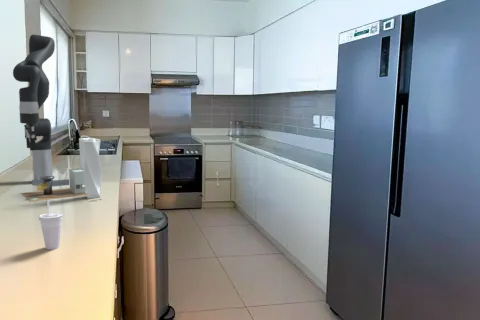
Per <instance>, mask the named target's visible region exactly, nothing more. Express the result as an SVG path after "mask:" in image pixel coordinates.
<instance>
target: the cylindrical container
mask: <svg viewBox="0 0 480 320" xmlns="http://www.w3.org/2000/svg"><path fill="white" fill-rule="evenodd" d="M90 138H91V139H92V138H93V137H90ZM90 138H88V137H82V139H83V141H88V139H90ZM82 139H81V138H78V142H79V143H78V144H79V145H78V147H79V165H80V168H79V169H81V170H83V171H84V162H85V153H84V148H83V142H82ZM85 191H86V186H85Z"/></svg>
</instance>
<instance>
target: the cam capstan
mask: <svg viewBox="0 0 480 320" xmlns="http://www.w3.org/2000/svg"><path fill="white" fill-rule="evenodd" d="M40 179H41V180H37V179H34V178H33V179H32V180H31V185H32V186H35V187H36V191H43V192H44V194H52V190H53V187H60V186H61V187H62V186H70V178H65V179H55V176H54V175H53V176H43V177H40ZM52 179H53V181H52ZM54 179H55V180H54Z"/></svg>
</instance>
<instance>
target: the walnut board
mask: <svg viewBox="0 0 480 320" xmlns="http://www.w3.org/2000/svg"><path fill="white" fill-rule="evenodd" d="M21 194H22V196H23V197H24V198H25V199H26V201H28V202H29V203H31V202H33V203H34V202H39V201H40V202H41V201H49V200H57V199H64V198H65V199H66V198H73V197H74V198H75V197H82V196H87V192H85V193H80V194H75V193H73V192H72V191H70V187H65V188H64V187H63V188H55V189H54V188H52V194H44V192H43V190H42V191H37V190H36V191H35V190H33V191H28V192H21ZM31 198H38V199H36V200H28V199H31Z"/></svg>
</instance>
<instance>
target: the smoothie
mask: <svg viewBox="0 0 480 320" xmlns="http://www.w3.org/2000/svg"><path fill="white" fill-rule="evenodd" d="M46 205H47V206H46V209H47V210H46V211H47V213H43V214H40V215H38V220H39V222H40V225H41V226H40V227H41V232H42V237H43V242H44V246H45V249H46V250H57V249H59V248H60V244H61V243H60V241H61V232H62V229H61V228H62V219H63V218H64V217H63V213H61V212H50V201H49V200H46Z"/></svg>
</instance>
